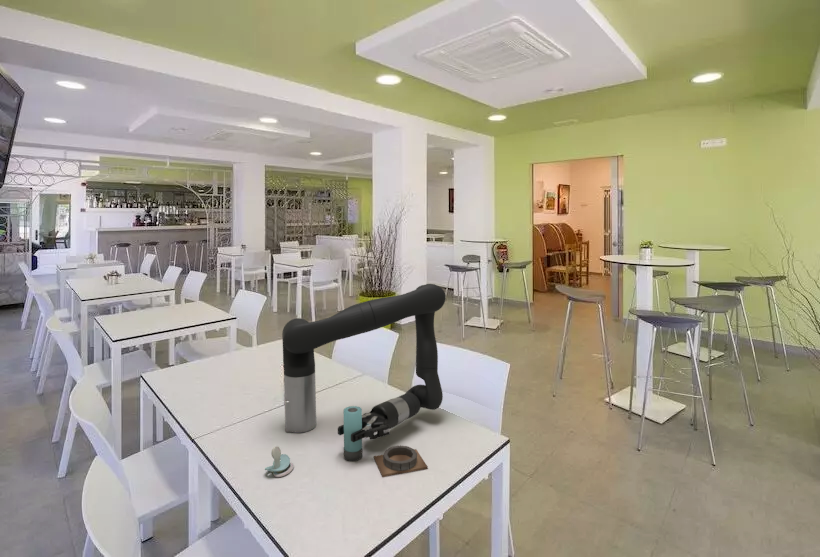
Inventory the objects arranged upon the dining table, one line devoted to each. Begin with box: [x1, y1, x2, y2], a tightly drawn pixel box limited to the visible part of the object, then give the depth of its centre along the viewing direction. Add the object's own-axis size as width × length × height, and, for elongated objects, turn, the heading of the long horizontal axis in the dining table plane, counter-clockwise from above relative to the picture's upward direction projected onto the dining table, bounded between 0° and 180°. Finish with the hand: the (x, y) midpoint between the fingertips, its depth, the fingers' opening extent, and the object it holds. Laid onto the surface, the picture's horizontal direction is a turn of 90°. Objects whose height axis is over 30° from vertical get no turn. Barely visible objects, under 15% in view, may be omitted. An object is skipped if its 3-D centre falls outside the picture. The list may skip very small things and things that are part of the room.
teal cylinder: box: [343, 405, 363, 462], centre depth 116 cm, size 5×5×13 cm
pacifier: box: [264, 445, 295, 478], centre depth 110 cm, size 7×6×6 cm
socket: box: [373, 444, 429, 478], centre depth 114 cm, size 12×9×3 cm
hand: (345, 434), depth 114 cm, fingers closed on teal cylinder, 4 cm apart
